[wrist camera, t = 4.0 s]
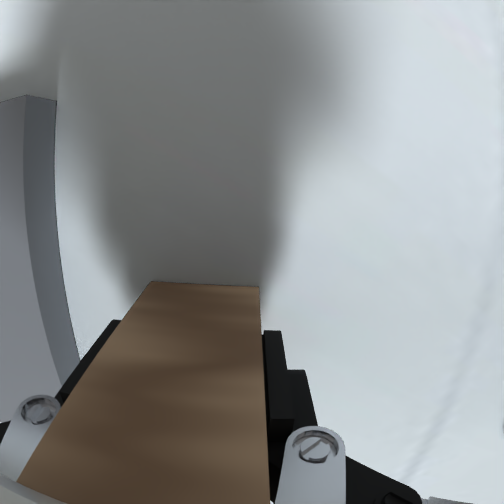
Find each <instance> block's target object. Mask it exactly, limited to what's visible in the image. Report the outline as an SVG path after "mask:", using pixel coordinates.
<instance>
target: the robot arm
mask: <svg viewBox="0 0 504 504" xmlns="http://www.w3.org/2000/svg"><path fill="white" fill-rule="evenodd" d="M121 321H122V320H112V321H111V322H110V323H109V325H108V326H107V327H106V329H105V330H104V331H103V333H102V334H101V335H100V336H99V338H98V339H97V340H96V342H95V343H94V344H93V346H92V347H91V348H90V350H89V351H88V352H87V354H86V355H85V356H84V357H83V358H82V360H81V361H80V362H79V364H78V365H77V366H76V368H75V369H74V371H73V372H72V373H71V375H70V376H69V377H68V379H67V380H66V382H65V383H64V384H63V386H62V387H61V389H60V390H59V391H58V393H57V394H56V396H55V397H54V398H53V397H52V396H48V395H34V396H31V397H29V398H26V399H25V400H24V401H22V402H21V404H20V405H19V406H18V408H17V410H16V412H15V414H14V416H13V418H12V420H10V421H7V422H3V423H0V504H67V503H64V502H61V501H59V500H56V499H54V498H51V497H49V496H46V495H44V494H41V493H39V492H37V491H34V490H32V489H30V488H28V487H26V486H23V485H21V484H19V483H17V482H16V481H17V479H18V477H19V476H20V474H21V472H22V470H23V469H24V467H25V465H26V464H27V462H28V460H29V459H30V457H31V455H32V454H33V452H34V450H35V449H36V447H37V445H38V444H39V442H40V440H41V439H42V437H43V435H44V434H45V432H46V431H47V429H48V427H49V426H50V424H51V423H52V421H53V420H54V418H55V416H56V415H57V413H58V412H59V410H60V409H61V407H62V406H63V404H64V403H65V401H66V400H67V398H68V396H69V395H70V393H71V392H72V390H73V389H74V387H75V386H76V384H77V383H78V382H79V380H80V379H81V377H82V376H83V374H84V373H85V371H86V370H87V368H88V367H89V365H90V364H91V363H92V361H93V360H94V358H95V357H96V355H97V354H98V353H99V351H100V350H101V348H102V347H103V345H104V344H105V343H106V341H107V340H108V338H109V337H110V336H111V334H112V333H113V332H114V330H115V329H116V327H117V326H118V325H119V323H120V322H121ZM262 353H263V371H264V390H265V409H266V429H267V448H268V468H269V489H270V500H271V501H272V502H273V504H471V503H464V502H458V501H452V500H446V499H440V498H435V497H429V499H428V500H427V499H422V498H421V497H420V495H419V494H418V493H417V492H416V491H415V490H414V489H412V488H411V487H409V486H407V485H405V484H402V483H400V482H398V481H396V480H394V479H391V478H389V477H387V476H385V475H383V474H381V473H379V472H377V471H375V470H373V469H371V468H369V467H367V466H365V465H363V464H361V463H359V462H357V461H355V460H353V459H351V458H349V457H347V456H345V445H344V441H343V440H342V438H341V437H340V436H339V435H338V434H337V433H336V432H334V431H333V430H330V429H328V428H325V427H320V426H318V424H317V420H316V415H315V411H314V407H313V402H312V398H311V393H310V389H309V385H308V380H307V376H306V372H305V370H287V365H286V359H285V352H284V346H283V340H282V334H281V331H272V330H264V333H263V335H262Z"/></svg>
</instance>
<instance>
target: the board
mask: <svg viewBox="0 0 504 504" xmlns="http://www.w3.org/2000/svg"><path fill="white" fill-rule="evenodd" d="M56 102H57V101H54V100H49V99H45V98H40V97H35V96H30V95H24V96H21V97H17V98H14V99H10V100H7V101H4V102H0V422H2V423H3V422H7V421H10V420H12V418H13V416H14V414H15V412H16V410H17V408H18V406H19V405H20V404H21V402H22V401H24V400H25V399H26V398H29V397H31V396H34V395H48V396H52V397H53V398H54V397H55V396H56V394H57V393H58V391H59V390H60V389H61V387H62V386H63V384H64V383H65V382H66V380H67V379H68V377H69V376H70V375H71V373H72V372H73V371H74V369H75V368H76V366H77V365H78V364H79V362H80V359H79V355H78V351H77V347H76V343H75V339H74V334H73V330H72V325H71V321H70V316H69V311H68V306H67V300H66V295H65V289H64V283H63V276H62V269H61V262H60V254H59V245H58V235H57V224H56V210H55V190H54V135H55V116H56Z"/></svg>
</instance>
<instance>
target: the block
mask: <svg viewBox="0 0 504 504" xmlns="http://www.w3.org/2000/svg"><path fill="white" fill-rule="evenodd" d="M16 482H17V483H19V484H21V485H23V486H26V487H28V488H30V489H32V490H34V491H37V492H39V493H41V494H44V495H46V496H49V497H51V498H54V499H56V500H59V501H61V502H64V503H67V504H270V489H269V468H268V448H267V429H266V409H265V390H264V371H263V353H262V335H261V317H260V299H259V287H248V286H226V285H206V284H188V283H171V282H156V281H151V282H150V283H149V285H148V286H147V287H146V288H145V290H144V291H143V292H142V294H141V295H140V296H139V298H138V299H137V300H136V302H135V303H134V304H133V306H132V307H131V308H130V310H129V311H128V312H127V314H126V315H125V316H124V318H123V319H122V321H121V322H120V323H119V325H118V326H117V327H116V329H115V330H114V332H113V333H112V334H111V336H110V337H109V338H108V340H107V341H106V343H105V344H104V345H103V347H102V348H101V350H100V351H99V353H98V354H97V355H96V357H95V358H94V360H93V361H92V363H91V364H90V365H89V367H88V368H87V370H86V371H85V373H84V374H83V376H82V377H81V379H80V380H79V382H78V383H77V384H76V386H75V387H74V389H73V390H72V392H71V393H70V395H69V396H68V398H67V400H66V401H65V403H64V404H63V406H62V407H61V409H60V410H59V412H58V413H57V415H56V416H55V418H54V420H53V421H52V423H51V424H50V426H49V427H48V429H47V431H46V432H45V434H44V435H43V437H42V439H41V440H40V442H39V444H38V445H37V447H36V449H35V450H34V452H33V454H32V455H31V457H30V459H29V460H28V462H27V464H26V465H25V467H24V469H23V470H22V472H21V474H20V476H19V477H18V479H17V481H16Z"/></svg>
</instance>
